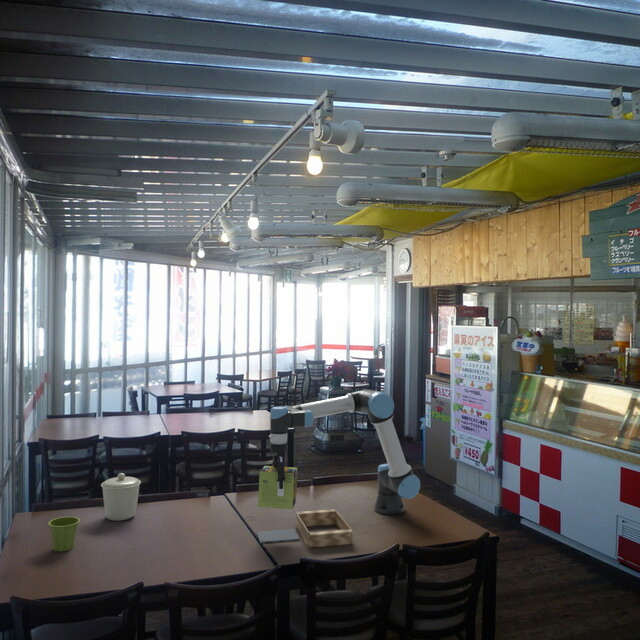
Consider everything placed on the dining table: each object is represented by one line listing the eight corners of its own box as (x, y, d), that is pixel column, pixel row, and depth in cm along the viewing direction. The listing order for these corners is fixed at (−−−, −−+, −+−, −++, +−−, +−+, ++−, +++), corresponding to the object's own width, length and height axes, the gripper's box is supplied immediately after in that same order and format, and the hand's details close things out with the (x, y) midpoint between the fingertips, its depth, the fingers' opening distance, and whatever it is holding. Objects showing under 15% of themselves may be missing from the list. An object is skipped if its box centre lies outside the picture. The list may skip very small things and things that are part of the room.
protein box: (293, 509, 246) (294, 473, 246) (257, 507, 247) (259, 471, 247) (296, 502, 256) (297, 467, 256) (262, 499, 258) (263, 465, 258)
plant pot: (59, 556, 228) (59, 528, 228) (41, 550, 234) (42, 522, 235) (85, 547, 238) (85, 519, 238) (68, 541, 244) (68, 514, 245)
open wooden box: (334, 521, 271) (335, 509, 271) (353, 545, 242) (354, 531, 242) (295, 525, 267) (295, 512, 267) (309, 549, 238) (309, 535, 238)
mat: (294, 530, 259) (294, 528, 260) (299, 540, 248) (299, 538, 248) (256, 533, 255) (256, 531, 255) (260, 543, 244) (260, 541, 244)
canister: (92, 520, 270) (92, 475, 270) (118, 509, 287) (119, 467, 287) (122, 526, 263) (123, 480, 263) (148, 514, 280) (149, 470, 280)
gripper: (265, 437, 263) (265, 484, 263) (274, 448, 239) (274, 500, 239) (282, 436, 265) (281, 483, 264) (292, 448, 241) (291, 499, 241)
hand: (278, 491), depth 252 cm, fingers closed on protein box, 12 cm apart
